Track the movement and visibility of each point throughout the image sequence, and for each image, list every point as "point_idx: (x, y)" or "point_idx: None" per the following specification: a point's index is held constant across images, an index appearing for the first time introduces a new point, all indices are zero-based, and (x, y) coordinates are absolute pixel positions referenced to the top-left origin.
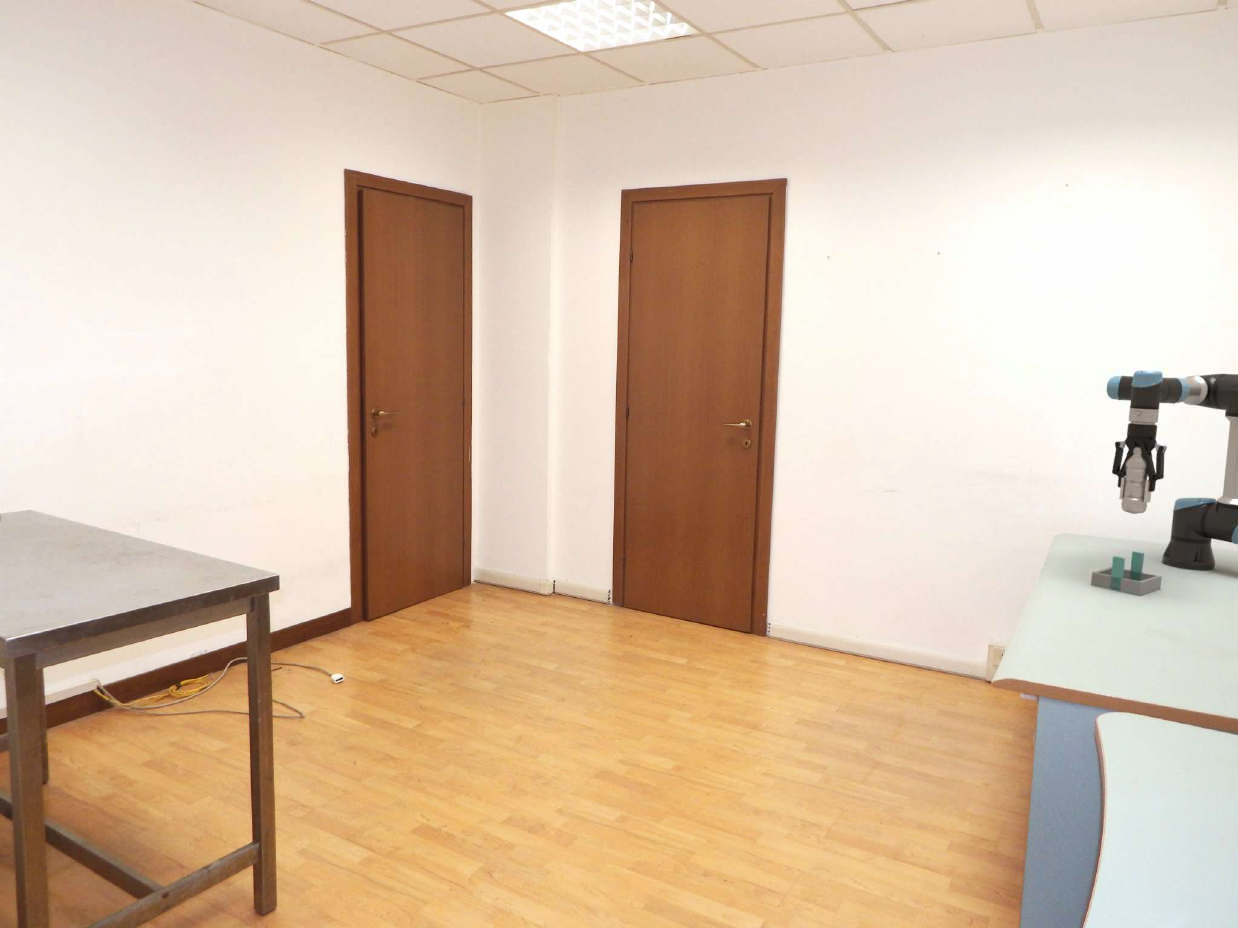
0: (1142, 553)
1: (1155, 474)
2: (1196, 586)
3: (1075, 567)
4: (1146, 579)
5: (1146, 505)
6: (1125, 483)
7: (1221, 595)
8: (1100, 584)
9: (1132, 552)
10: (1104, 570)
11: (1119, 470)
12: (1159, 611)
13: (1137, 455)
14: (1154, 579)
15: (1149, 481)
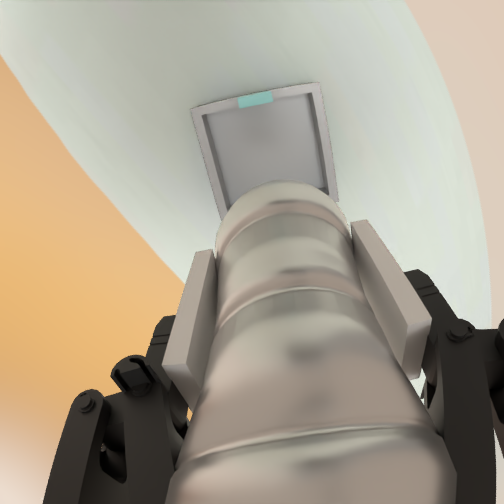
0: (271, 101)
1: (480, 369)
2: None
3: (84, 99)
4: (325, 158)
5: (348, 227)
6: (208, 351)
7: (398, 10)
8: None
9: (240, 108)
10: (216, 174)
11: (105, 425)
12: (404, 259)
13: None
14: (327, 126)
15: (419, 360)
